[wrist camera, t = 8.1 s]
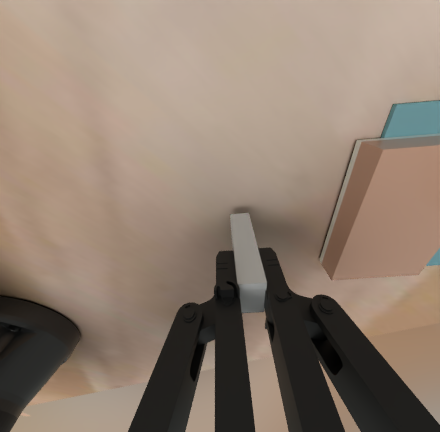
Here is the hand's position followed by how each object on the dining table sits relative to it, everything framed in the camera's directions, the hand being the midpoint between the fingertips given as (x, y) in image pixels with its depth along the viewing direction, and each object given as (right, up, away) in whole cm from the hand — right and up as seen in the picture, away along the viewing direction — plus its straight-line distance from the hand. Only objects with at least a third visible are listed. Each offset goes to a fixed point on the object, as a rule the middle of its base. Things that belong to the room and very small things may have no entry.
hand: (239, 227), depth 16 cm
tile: (+8, +1, 0) cm, 8 cm away
